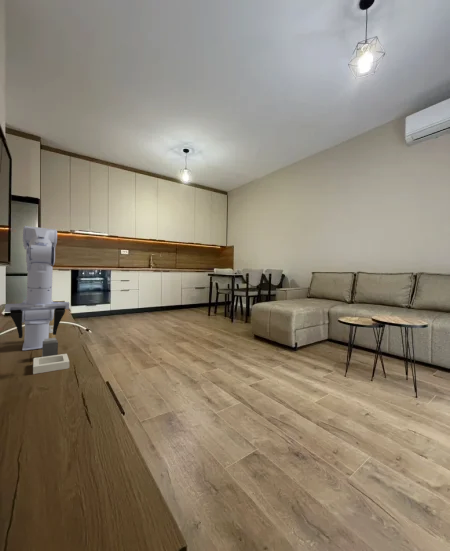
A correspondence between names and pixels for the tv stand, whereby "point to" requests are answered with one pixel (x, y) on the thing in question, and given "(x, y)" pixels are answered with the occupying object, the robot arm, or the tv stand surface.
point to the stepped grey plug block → (50, 347)
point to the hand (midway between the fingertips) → (38, 335)
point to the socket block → (50, 363)
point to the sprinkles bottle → (51, 329)
